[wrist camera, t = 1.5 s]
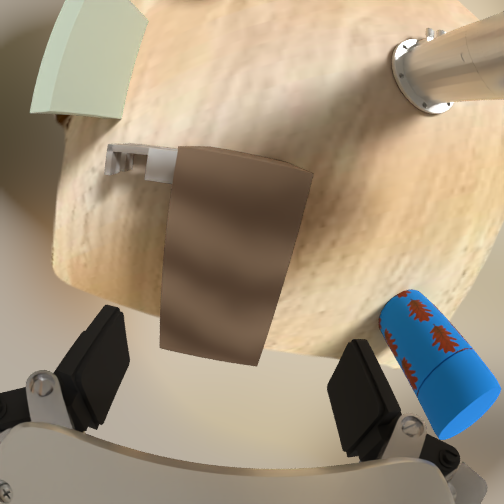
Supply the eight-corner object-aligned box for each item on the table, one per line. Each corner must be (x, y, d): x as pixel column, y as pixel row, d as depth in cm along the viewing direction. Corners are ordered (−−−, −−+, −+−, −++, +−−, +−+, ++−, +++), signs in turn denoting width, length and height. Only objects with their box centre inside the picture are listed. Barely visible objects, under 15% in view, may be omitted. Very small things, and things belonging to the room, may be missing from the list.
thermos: (376, 299, 42) (449, 414, 19) (427, 280, 41) (512, 371, 17) (378, 344, 46) (429, 449, 22) (423, 325, 44) (486, 415, 21)
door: (125, 22, 25) (70, -20, 10) (148, 20, 25) (100, -29, 10) (99, 118, 31) (24, 113, 16) (121, 118, 31) (49, 111, 16)
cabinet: (133, 137, 32) (62, 137, 17) (285, 162, 34) (313, 173, 19) (122, 261, 39) (69, 320, 24) (254, 289, 41) (257, 366, 26)
